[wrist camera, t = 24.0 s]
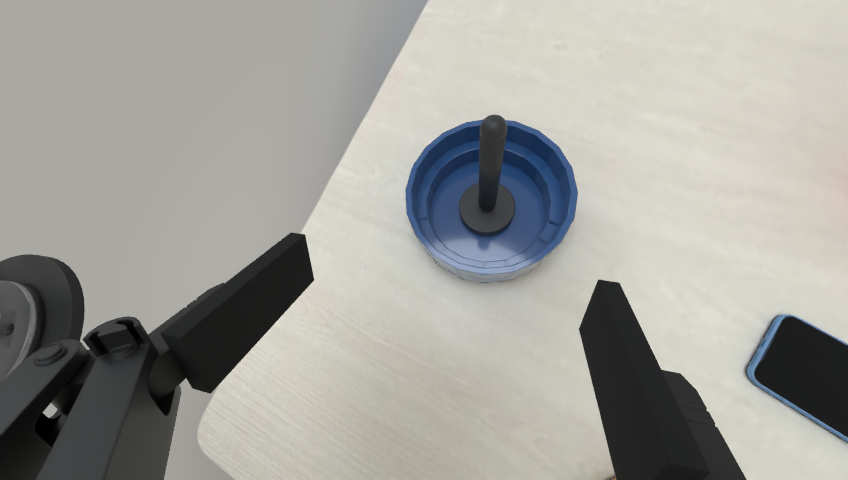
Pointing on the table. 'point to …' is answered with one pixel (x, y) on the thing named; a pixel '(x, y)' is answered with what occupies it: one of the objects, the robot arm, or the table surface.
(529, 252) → the bowl
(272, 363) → the table surface
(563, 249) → the table surface
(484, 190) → the dark grey tamper
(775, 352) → the smartphone
